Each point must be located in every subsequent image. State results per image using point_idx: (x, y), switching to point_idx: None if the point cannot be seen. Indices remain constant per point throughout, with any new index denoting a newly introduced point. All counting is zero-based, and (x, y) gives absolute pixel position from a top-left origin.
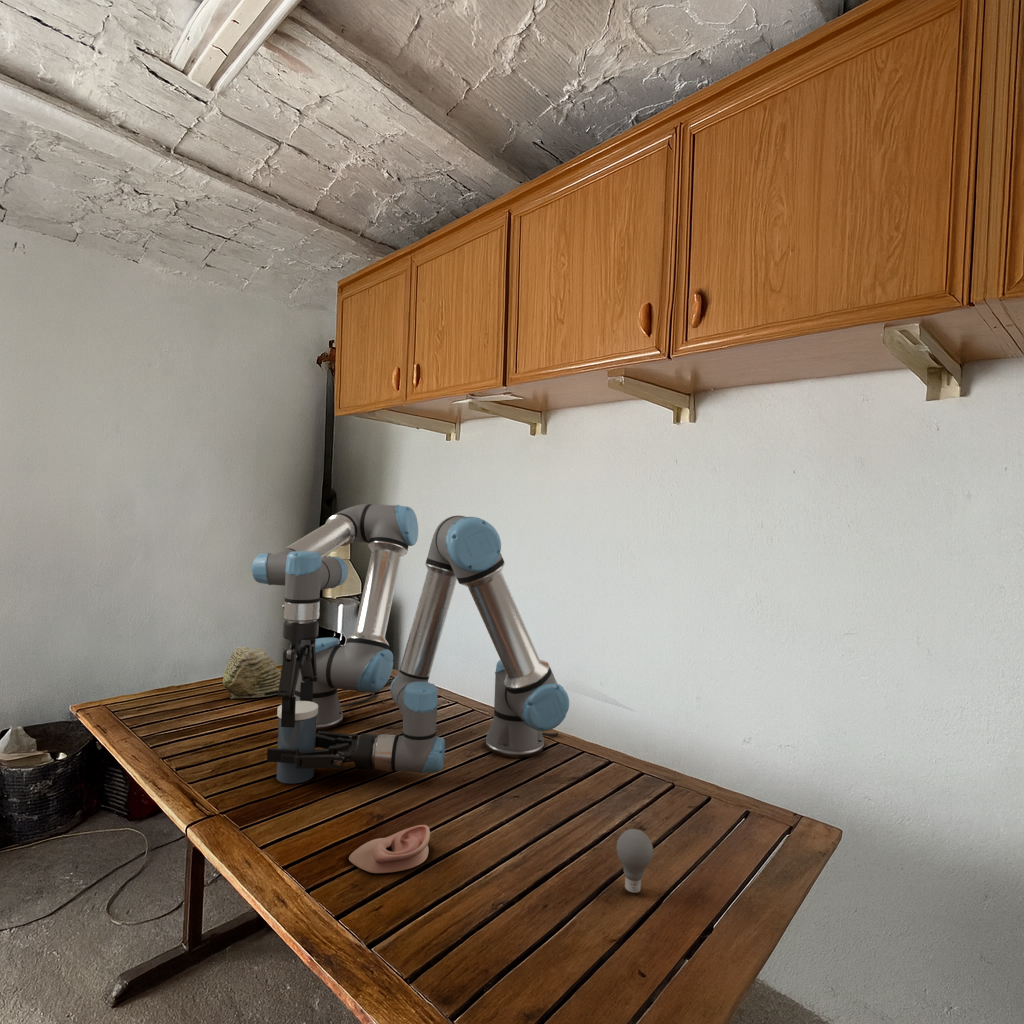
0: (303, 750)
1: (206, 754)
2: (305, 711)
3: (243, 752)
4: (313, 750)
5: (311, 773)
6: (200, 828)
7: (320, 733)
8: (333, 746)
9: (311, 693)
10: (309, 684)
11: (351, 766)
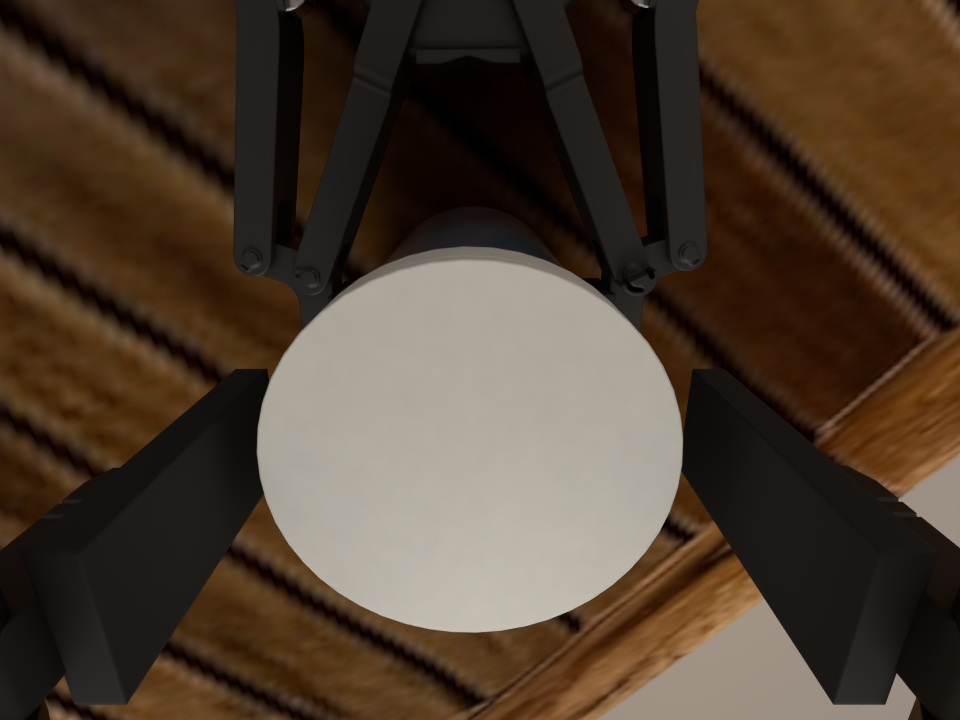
0: (563, 266)
1: (338, 678)
2: (608, 350)
3: (286, 578)
4: (589, 191)
5: (494, 211)
6: (918, 459)
7: (272, 250)
8: (549, 45)
9: (175, 459)
10: (102, 574)
11: (312, 31)
